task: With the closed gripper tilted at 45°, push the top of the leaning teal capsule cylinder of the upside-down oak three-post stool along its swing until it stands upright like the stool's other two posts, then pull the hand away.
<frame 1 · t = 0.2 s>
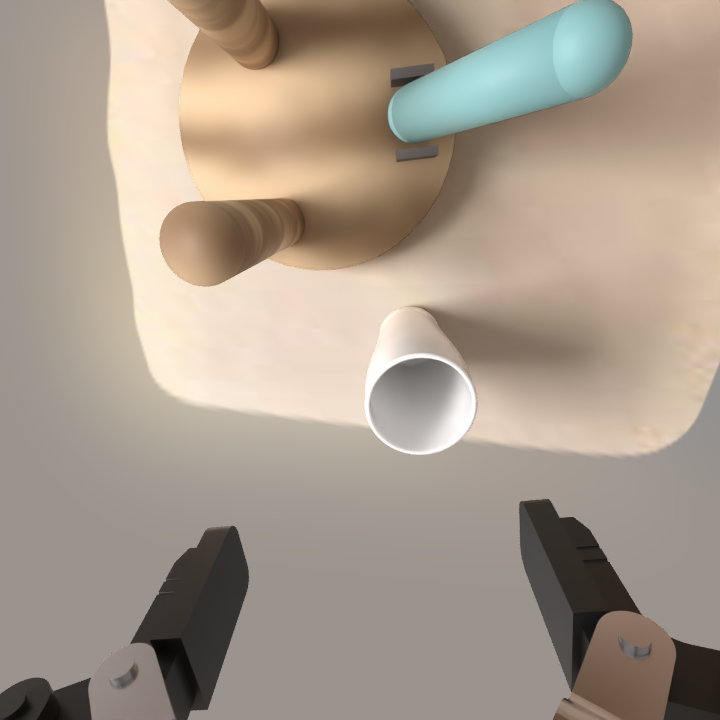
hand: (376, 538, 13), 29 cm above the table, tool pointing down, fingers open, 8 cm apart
teal capsule cylinder: (480, 89, 25), point 11 cm above the table, hinge at -30.0°
drinking glass: (409, 333, 41), on the table
stool: (321, 135, 36), on the table
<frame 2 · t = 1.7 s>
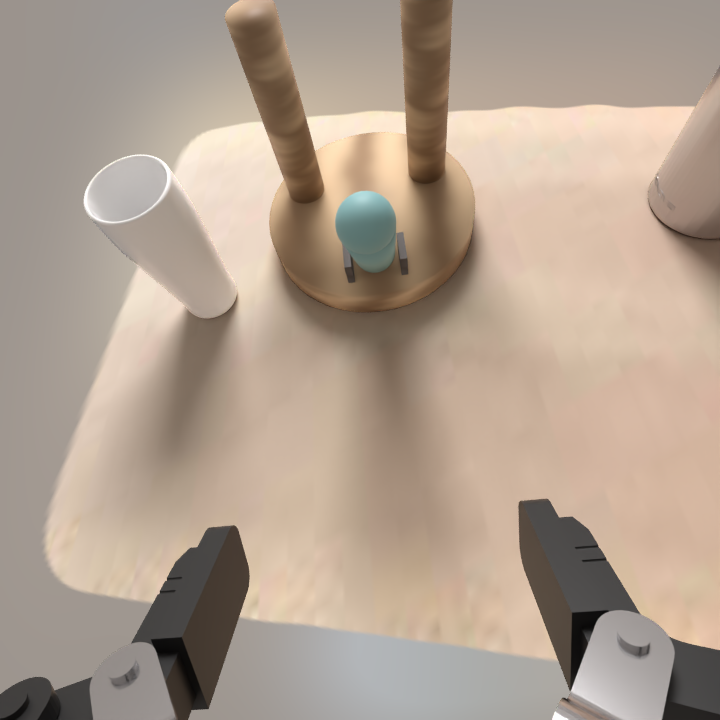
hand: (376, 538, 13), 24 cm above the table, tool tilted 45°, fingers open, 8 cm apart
teal capsule cylinder: (370, 240, 34), point 11 cm above the table, hinge at -30.0°
drinking glass: (214, 298, 47), on the table
stool: (372, 227, 48), on the table
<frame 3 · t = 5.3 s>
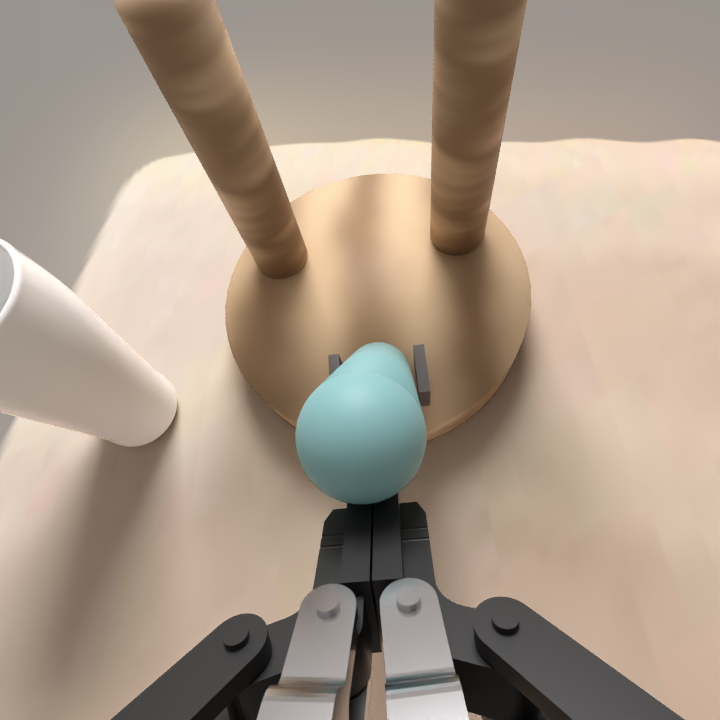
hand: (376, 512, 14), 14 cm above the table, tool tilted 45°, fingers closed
teal capsule cylinder: (372, 395, 19), point 11 cm above the table, hinge at -29.7°, touching gripper
drinking glass: (145, 412, 32), on the table
stool: (376, 311, 33), on the table
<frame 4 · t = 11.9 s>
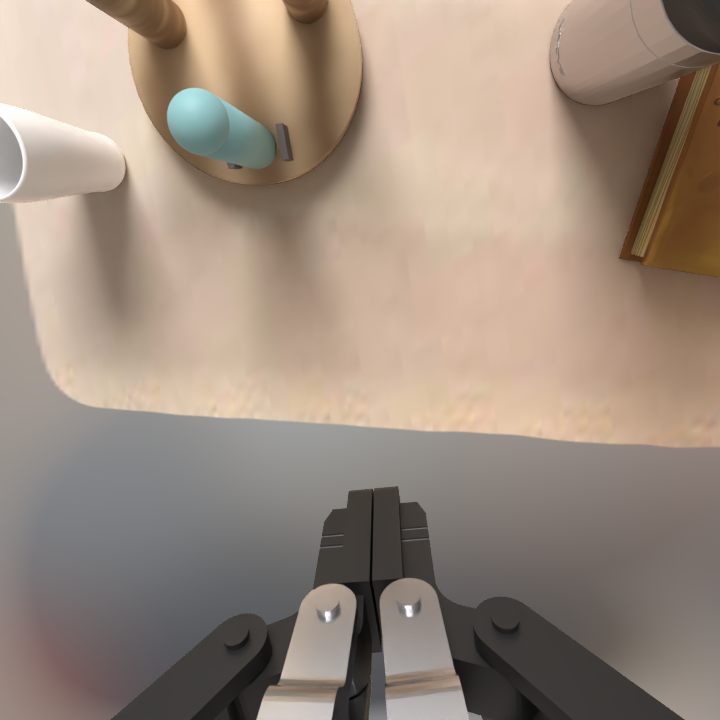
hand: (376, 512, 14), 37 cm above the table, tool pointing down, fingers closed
teal capsule cylinder: (232, 136, 34), point 12 cm above the table, hinge at 1.4°
drinking glass: (102, 163, 46), on the table
stool: (253, 68, 42), on the table
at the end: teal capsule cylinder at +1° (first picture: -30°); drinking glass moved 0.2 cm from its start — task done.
